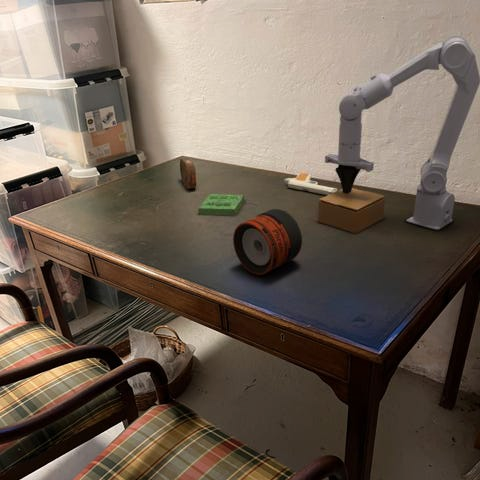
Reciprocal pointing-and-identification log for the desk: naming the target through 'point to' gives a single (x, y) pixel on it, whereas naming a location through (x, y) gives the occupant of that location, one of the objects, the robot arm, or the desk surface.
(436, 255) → the desk surface
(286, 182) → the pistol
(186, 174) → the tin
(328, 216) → the carton
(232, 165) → the desk surface
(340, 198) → the flap
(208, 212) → the carved green slab
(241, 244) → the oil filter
